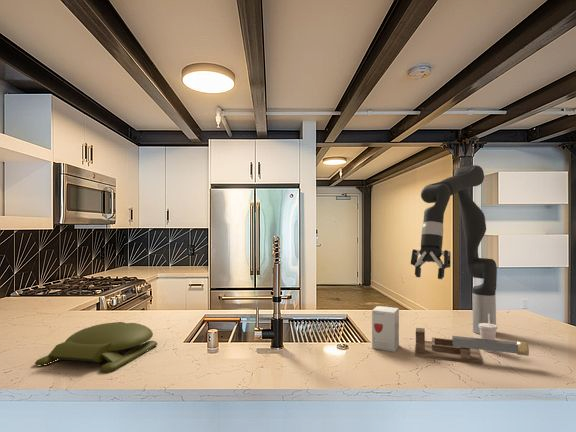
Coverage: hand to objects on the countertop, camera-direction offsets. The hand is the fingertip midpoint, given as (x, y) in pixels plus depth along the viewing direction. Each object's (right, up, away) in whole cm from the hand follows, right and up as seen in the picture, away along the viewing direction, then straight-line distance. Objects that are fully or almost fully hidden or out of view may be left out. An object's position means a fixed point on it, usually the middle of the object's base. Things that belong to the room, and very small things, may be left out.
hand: (428, 278), depth 132 cm
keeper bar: (+18, -25, -7) cm, 31 cm away
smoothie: (+25, -29, +5) cm, 39 cm away
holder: (+8, -29, +3) cm, 30 cm away
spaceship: (-121, -30, +4) cm, 125 cm away
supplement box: (-13, -29, +10) cm, 33 cm away
